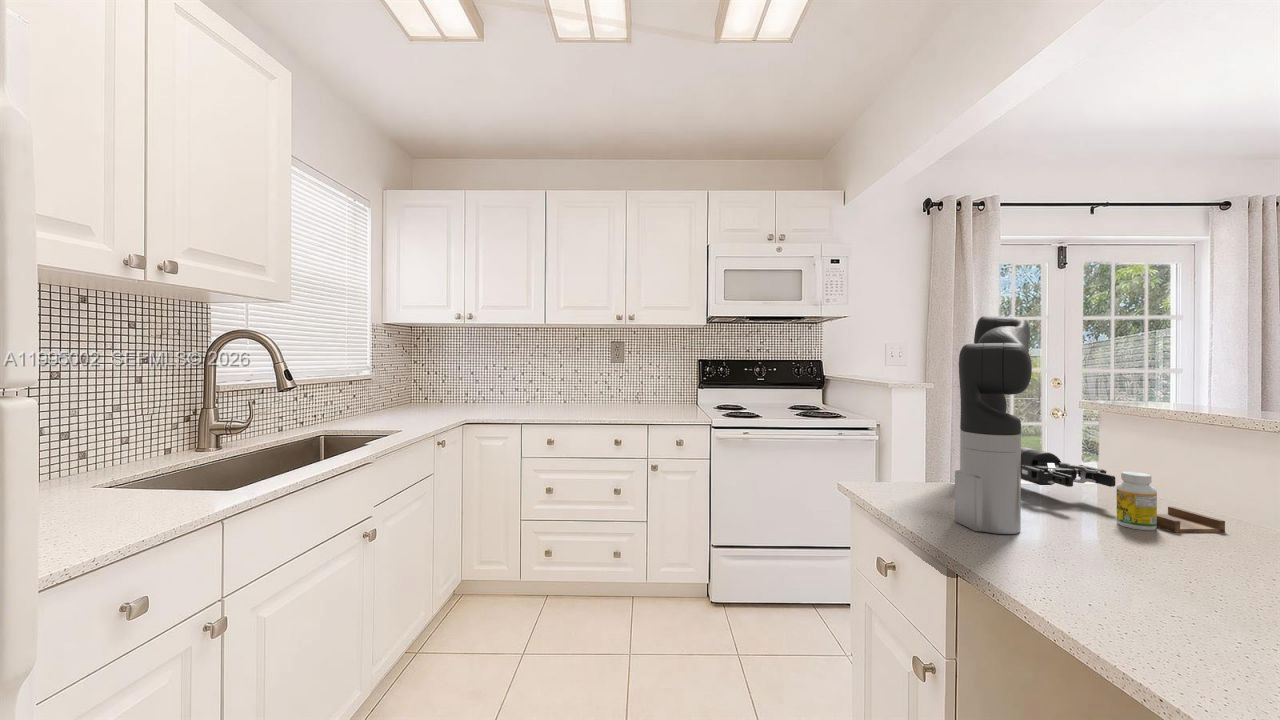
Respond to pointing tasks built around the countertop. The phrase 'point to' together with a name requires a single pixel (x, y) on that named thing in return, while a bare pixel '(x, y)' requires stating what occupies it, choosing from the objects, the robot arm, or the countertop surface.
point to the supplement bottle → (1136, 502)
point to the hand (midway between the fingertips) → (1092, 481)
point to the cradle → (1188, 521)
